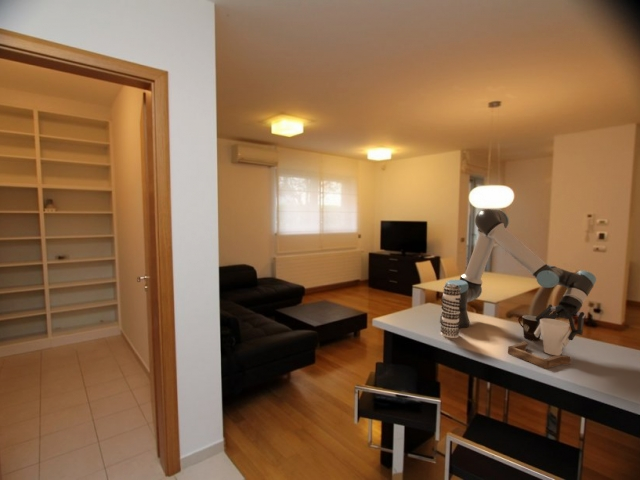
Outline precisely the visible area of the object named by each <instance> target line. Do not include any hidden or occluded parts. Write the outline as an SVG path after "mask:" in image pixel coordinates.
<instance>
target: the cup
mask: <svg viewBox="0 0 640 480" xmlns="http://www.w3.org/2000/svg"><path fill="white" fill-rule="evenodd" d="M540 329H541V335H540V336H541V338H542V345H543V352H544V353H546V354H548V355H551V356H557V355H559V356H562V355H561V354H562V352H563V351H562V350H563V348H564V346H563V344H562V341H563V339H564V337H565V336H566V334H567V332H568V331H569V330H570V329H571V327H570V323H568V322H566V321H563V320H560V319H557V318H555V319H547V318H544V319H540Z"/></svg>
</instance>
